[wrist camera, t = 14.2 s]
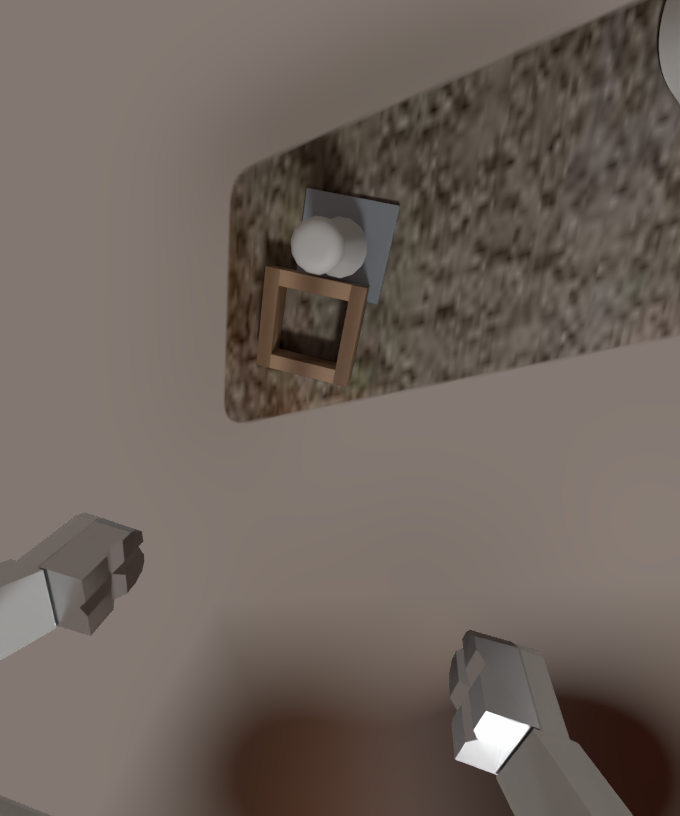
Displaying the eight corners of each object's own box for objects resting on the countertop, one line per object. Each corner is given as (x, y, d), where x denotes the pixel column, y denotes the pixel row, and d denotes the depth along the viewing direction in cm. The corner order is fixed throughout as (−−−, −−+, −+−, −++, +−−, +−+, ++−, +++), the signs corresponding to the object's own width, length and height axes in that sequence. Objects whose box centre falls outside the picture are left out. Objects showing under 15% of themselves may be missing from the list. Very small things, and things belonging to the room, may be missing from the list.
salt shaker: (325, 282, 41) (289, 292, 30) (311, 228, 40) (267, 217, 28) (375, 268, 40) (358, 274, 28) (363, 211, 38) (340, 192, 26)
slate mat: (400, 206, 37) (399, 205, 37) (377, 303, 42) (377, 304, 41) (307, 188, 38) (306, 187, 38) (295, 285, 43) (294, 285, 42)
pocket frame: (370, 286, 41) (367, 288, 38) (350, 378, 46) (346, 386, 43) (275, 265, 42) (265, 266, 39) (265, 357, 47) (256, 364, 44)
